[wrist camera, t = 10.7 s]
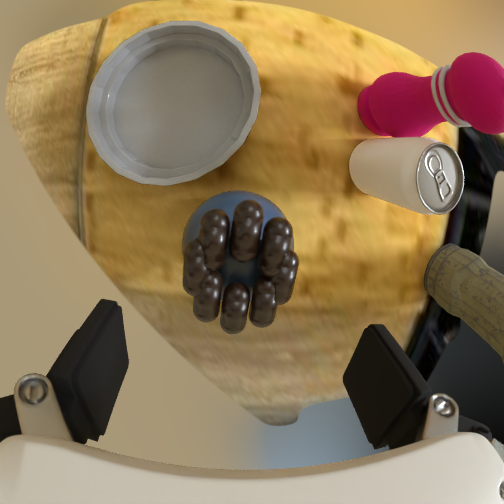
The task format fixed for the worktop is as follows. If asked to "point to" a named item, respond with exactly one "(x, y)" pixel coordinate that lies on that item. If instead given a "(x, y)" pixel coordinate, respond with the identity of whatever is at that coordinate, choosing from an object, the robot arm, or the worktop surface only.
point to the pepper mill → (437, 99)
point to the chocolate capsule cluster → (242, 250)
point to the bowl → (173, 102)
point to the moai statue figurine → (468, 291)
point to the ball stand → (227, 203)
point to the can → (409, 173)
